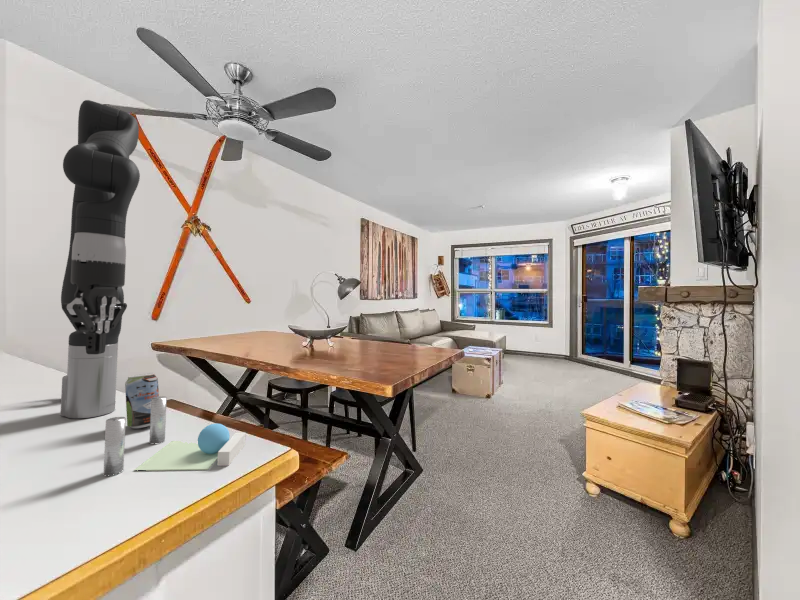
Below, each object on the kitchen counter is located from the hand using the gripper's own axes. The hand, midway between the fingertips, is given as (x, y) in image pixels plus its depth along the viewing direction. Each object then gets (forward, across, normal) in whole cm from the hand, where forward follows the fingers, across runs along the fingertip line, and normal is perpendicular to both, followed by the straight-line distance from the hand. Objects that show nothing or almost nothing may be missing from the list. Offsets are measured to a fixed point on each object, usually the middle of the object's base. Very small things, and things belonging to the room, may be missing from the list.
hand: (95, 353), depth 63 cm
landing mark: (+19, 0, +17) cm, 25 cm away
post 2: (+19, -6, +8) cm, 22 cm away
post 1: (+19, +6, +8) cm, 22 cm away
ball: (+16, -1, +21) cm, 27 cm away
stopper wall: (+19, 0, +25) cm, 31 cm away
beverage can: (+19, -15, 0) cm, 24 cm away
